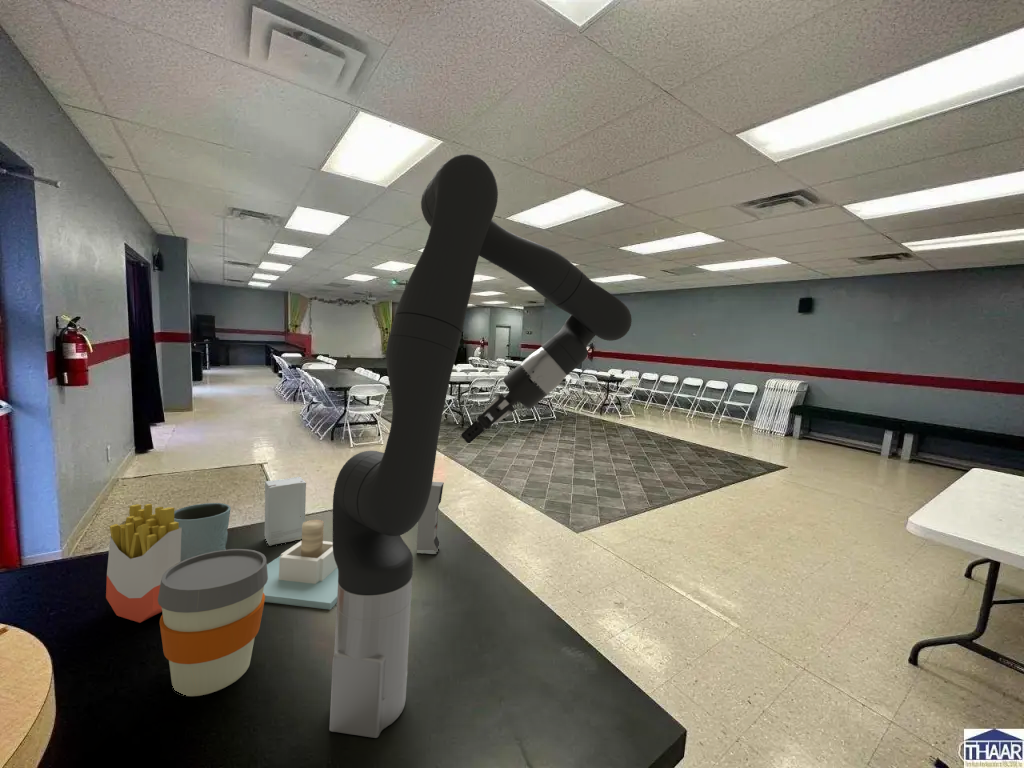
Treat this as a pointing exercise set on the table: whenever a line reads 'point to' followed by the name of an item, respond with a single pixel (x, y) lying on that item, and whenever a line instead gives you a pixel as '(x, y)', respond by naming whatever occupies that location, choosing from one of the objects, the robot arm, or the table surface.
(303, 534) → the maple peg
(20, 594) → the table surface
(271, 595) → the sleeve holder
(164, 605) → the reusable coffee cup
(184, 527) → the blue embossed cup
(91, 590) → the table surface
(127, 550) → the french fries container
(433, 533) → the vintage mobile phone
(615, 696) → the table surface
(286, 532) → the skincare box
